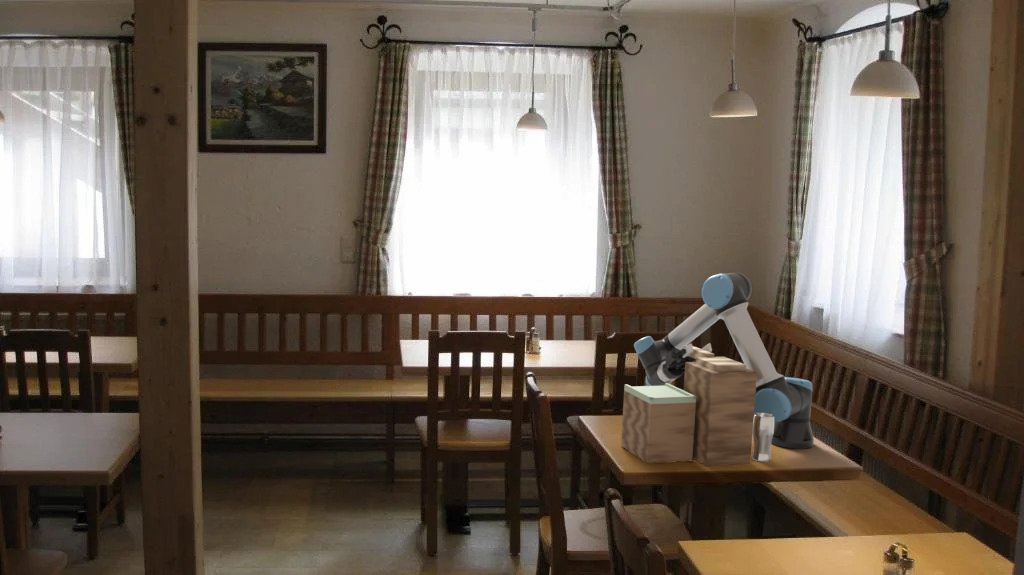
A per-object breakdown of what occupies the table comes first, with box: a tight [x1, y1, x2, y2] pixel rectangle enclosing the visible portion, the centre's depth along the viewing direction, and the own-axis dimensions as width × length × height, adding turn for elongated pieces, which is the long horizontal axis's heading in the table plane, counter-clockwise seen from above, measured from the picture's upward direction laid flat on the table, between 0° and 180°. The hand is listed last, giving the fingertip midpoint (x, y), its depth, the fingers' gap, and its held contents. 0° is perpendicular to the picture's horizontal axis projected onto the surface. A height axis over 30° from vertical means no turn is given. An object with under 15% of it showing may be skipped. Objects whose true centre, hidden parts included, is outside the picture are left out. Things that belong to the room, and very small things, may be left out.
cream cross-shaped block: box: [683, 344, 746, 372], centre depth 338 cm, size 30×10×3 cm, turn 18°
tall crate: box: [683, 362, 757, 467], centre depth 333 cm, size 18×16×30 cm
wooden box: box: [620, 389, 696, 464], centre depth 334 cm, size 20×16×19 cm
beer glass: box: [751, 412, 775, 463], centre depth 333 cm, size 7×7×15 cm
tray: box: [623, 383, 696, 404], centre depth 333 cm, size 20×16×2 cm
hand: (700, 347), depth 343 cm, fingers open, 6 cm apart
